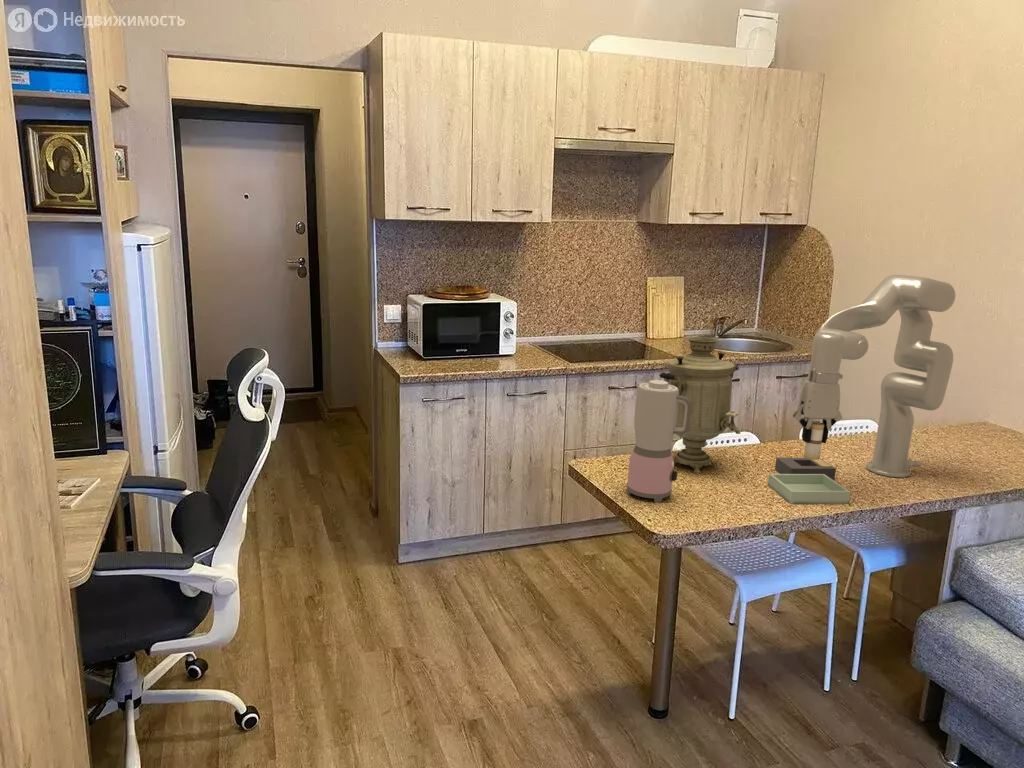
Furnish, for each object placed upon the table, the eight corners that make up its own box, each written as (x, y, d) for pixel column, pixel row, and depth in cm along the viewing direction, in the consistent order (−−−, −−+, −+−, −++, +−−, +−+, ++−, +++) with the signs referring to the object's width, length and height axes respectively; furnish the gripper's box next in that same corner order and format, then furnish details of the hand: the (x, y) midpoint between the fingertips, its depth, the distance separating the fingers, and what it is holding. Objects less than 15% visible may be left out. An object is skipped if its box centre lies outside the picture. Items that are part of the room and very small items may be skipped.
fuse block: (817, 469, 230) (819, 457, 229) (834, 481, 220) (836, 467, 220) (774, 469, 229) (776, 456, 228) (789, 481, 219) (791, 467, 218)
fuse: (814, 455, 208) (819, 421, 206) (822, 459, 205) (827, 425, 202) (801, 454, 208) (806, 420, 206) (808, 459, 204) (813, 425, 202)
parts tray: (822, 485, 217) (824, 474, 216) (848, 503, 203) (850, 491, 202) (767, 485, 215) (769, 473, 214) (790, 503, 201) (791, 491, 200)
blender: (619, 496, 202) (628, 382, 194) (634, 482, 212) (643, 374, 205) (675, 509, 194) (686, 391, 187) (688, 494, 205) (699, 383, 197)
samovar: (680, 488, 209) (693, 350, 200) (632, 459, 233) (642, 334, 224) (763, 478, 220) (780, 347, 211) (709, 451, 244) (722, 332, 235)
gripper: (844, 375, 206) (835, 438, 210) (787, 374, 204) (779, 437, 208) (859, 381, 198) (849, 446, 203) (801, 380, 197) (791, 445, 201)
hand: (814, 441), depth 205 cm, fingers closed on fuse, 4 cm apart
